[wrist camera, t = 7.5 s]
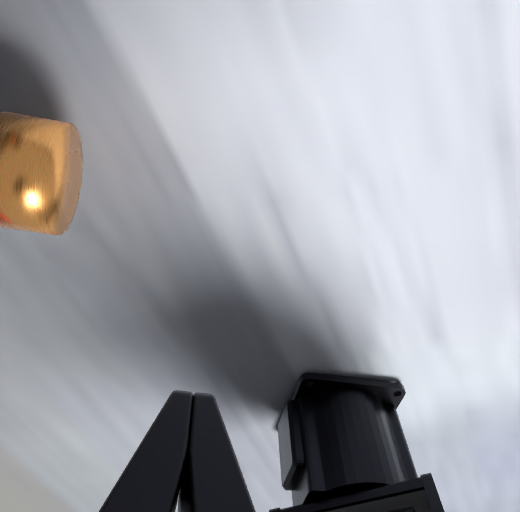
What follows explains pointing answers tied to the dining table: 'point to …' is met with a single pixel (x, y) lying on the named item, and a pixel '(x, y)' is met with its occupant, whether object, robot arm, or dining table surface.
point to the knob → (38, 173)
